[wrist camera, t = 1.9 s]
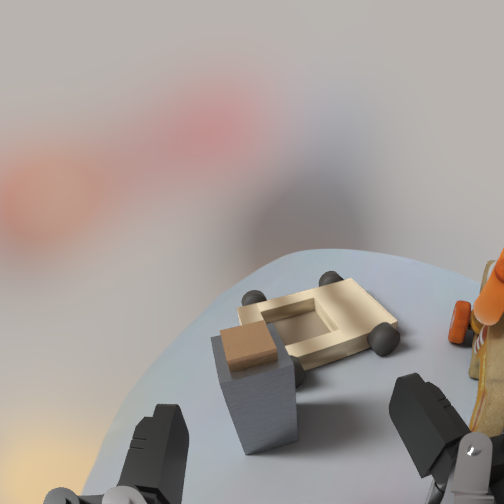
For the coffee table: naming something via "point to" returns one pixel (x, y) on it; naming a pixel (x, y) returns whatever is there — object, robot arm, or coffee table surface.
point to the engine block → (257, 385)
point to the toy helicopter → (485, 347)
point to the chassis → (324, 322)
